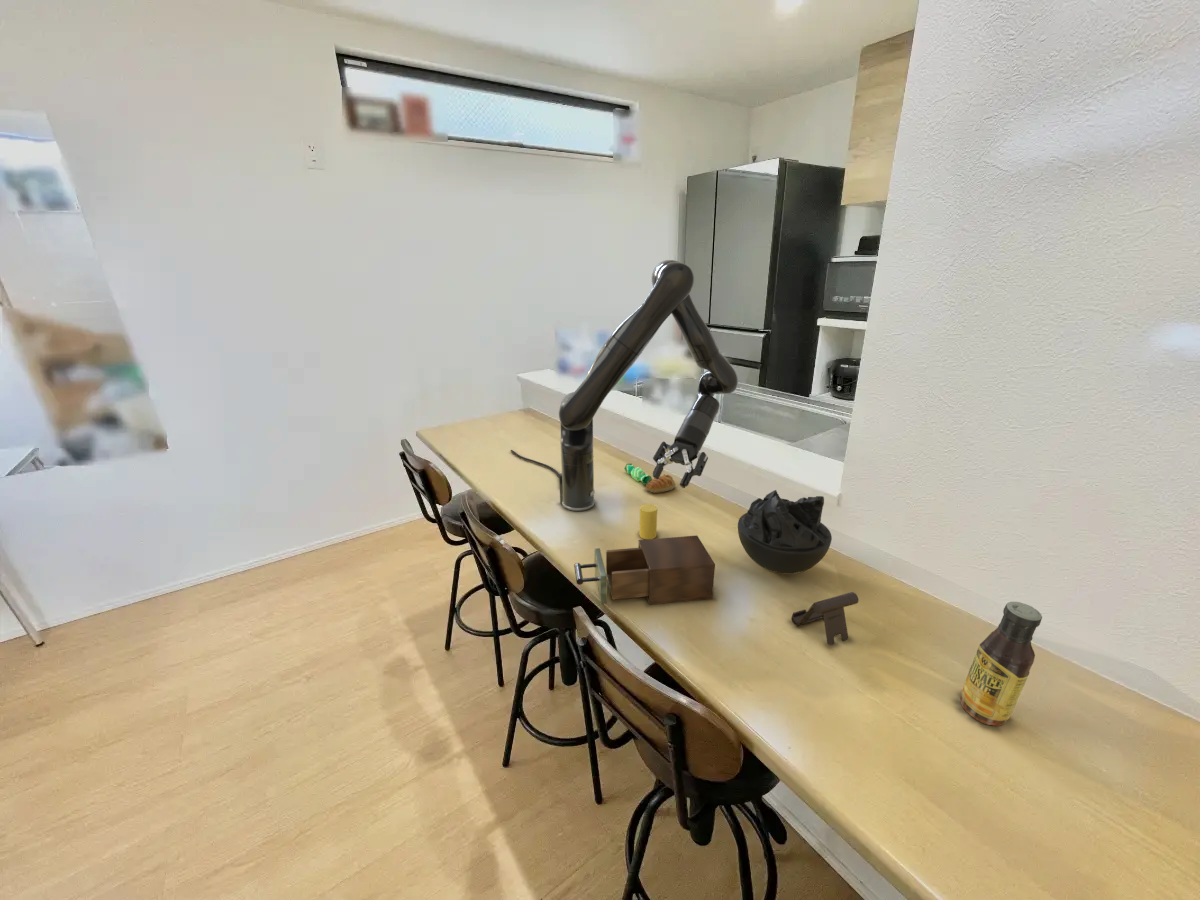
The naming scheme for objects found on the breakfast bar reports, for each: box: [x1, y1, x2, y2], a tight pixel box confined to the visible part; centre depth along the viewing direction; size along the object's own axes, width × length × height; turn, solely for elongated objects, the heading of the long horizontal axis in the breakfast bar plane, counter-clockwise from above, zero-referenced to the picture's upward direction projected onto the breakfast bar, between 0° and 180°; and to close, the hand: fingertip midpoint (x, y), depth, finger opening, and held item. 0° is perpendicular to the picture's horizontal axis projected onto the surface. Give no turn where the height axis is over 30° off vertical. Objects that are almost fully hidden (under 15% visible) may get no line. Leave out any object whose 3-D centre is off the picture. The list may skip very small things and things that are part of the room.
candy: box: [624, 463, 653, 487], centre depth 162 cm, size 12×3×4 cm
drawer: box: [573, 547, 649, 605], centre depth 105 cm, size 17×10×7 cm, turn 98°
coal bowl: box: [737, 489, 833, 575], centre depth 111 cm, size 20×20×19 cm
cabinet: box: [637, 535, 716, 606], centre depth 107 cm, size 14×12×9 cm
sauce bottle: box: [960, 601, 1043, 727], centre depth 73 cm, size 7×6×20 cm
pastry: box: [645, 473, 676, 494], centre depth 154 cm, size 9×7×4 cm
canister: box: [639, 503, 658, 540], centre depth 127 cm, size 4×4×8 cm
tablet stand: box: [790, 591, 859, 646], centre depth 93 cm, size 9×8×8 cm
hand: (668, 482), depth 130 cm, fingers open, 8 cm apart
